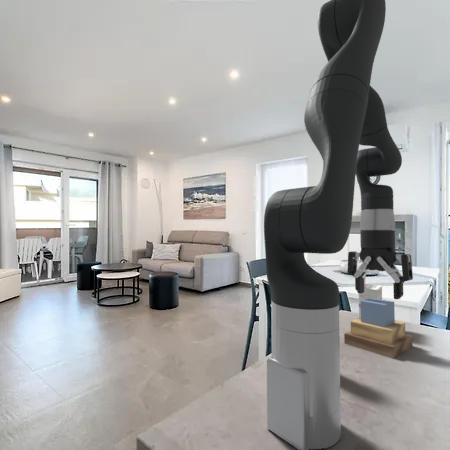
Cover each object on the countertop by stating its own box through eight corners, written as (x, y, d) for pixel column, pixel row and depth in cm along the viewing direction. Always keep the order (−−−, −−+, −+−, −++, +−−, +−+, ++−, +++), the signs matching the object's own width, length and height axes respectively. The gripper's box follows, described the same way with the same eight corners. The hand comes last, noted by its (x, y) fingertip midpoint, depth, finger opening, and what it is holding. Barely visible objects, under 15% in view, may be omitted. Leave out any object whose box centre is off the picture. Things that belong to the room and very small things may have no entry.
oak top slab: (390, 344, 65) (390, 330, 65) (350, 333, 71) (350, 321, 72) (405, 335, 71) (405, 322, 71) (367, 326, 77) (366, 314, 77)
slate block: (385, 327, 67) (384, 305, 67) (361, 321, 71) (360, 301, 71) (394, 322, 70) (394, 301, 71) (371, 317, 75) (370, 297, 75)
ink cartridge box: (378, 334, 78) (377, 278, 79) (358, 330, 81) (357, 276, 82) (383, 325, 85) (382, 274, 86) (364, 322, 88) (363, 273, 88)
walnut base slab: (392, 361, 63) (392, 347, 63) (344, 346, 72) (344, 333, 72) (412, 348, 70) (412, 335, 70) (366, 336, 78) (366, 324, 79)
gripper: (341, 228, 75) (342, 293, 74) (403, 228, 64) (404, 303, 63) (356, 229, 79) (357, 289, 79) (416, 228, 68) (417, 298, 68)
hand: (378, 295), depth 71 cm, fingers open, 8 cm apart
